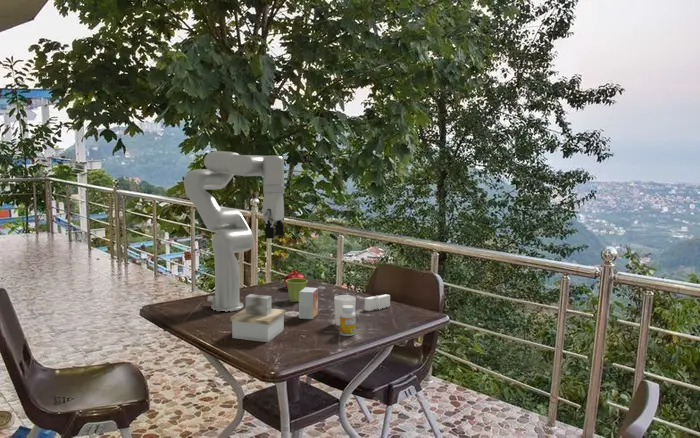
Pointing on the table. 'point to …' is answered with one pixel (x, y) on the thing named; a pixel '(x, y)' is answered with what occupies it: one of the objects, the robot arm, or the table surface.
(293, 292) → the plant pot
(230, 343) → the table surface
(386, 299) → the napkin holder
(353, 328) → the supplement bottle
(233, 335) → the shallow square tray
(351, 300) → the white cup
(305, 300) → the small box
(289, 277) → the pomegranate
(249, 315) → the cover plate
